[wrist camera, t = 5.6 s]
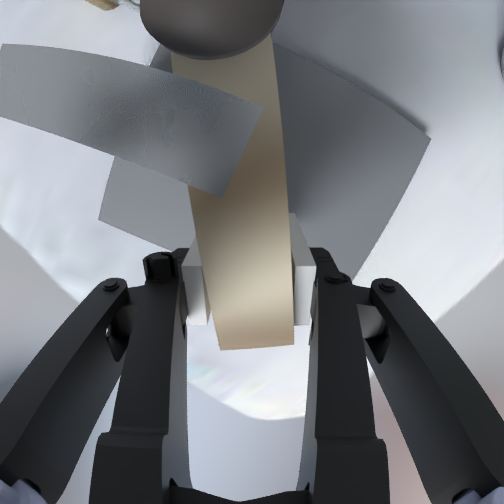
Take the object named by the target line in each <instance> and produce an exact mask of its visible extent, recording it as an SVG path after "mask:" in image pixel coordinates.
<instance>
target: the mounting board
mask: <svg viewBox="0 0 504 504" xmlns="http://www.w3.org/2000/svg"><path fill="white" fill-rule="evenodd" d="M272 44H273V43H272ZM273 52H274V60H275V69H276V77H277V86H278V95H279V104H280V114H281V124H282V135H283V146H284V158H285V170H286V183H287V197H288V211H289V213H295V215H296V217H297V220H298V222H299V224H300V227H301V229H302V232H303V234H304V237H305V239H306V241H307V244H308V246H309V247H323V248H324V249H326V250H327V251H329V252H330V254H331V256H332V258H333V260H334V262H335V264H336V266H337V268H338V270H339V272H342V273H345V274H346V275H348V276H349V277H350V278H351V281H353V279H354V277H355V276H356V274H357V273H358V271H359V270H360V268H361V267H362V265H363V263H364V262H365V260H366V259H367V257H368V255H369V254H370V252H371V250H372V249H373V247H374V246H375V244H376V242H377V241H378V239H379V237H380V236H381V234H382V232H383V230H384V229H385V227H386V225H387V224H388V222H389V220H390V218H391V217H392V215H393V213H394V211H395V209H396V208H397V206H398V204H399V202H400V200H401V198H402V197H403V195H404V193H405V191H406V189H407V187H408V185H409V183H410V181H411V179H412V177H413V176H414V174H415V172H416V170H417V168H418V166H419V164H420V161H421V159H422V157H423V155H424V153H425V151H426V149H427V147H428V145H429V143H430V140H431V138H430V137H428V136H427V135H426V134H425V133H423V132H422V131H421V130H420V129H418V128H417V127H416V126H414V125H413V124H412V123H410V122H409V121H408V120H406V119H405V118H404V117H402V116H401V115H400V114H398V113H397V112H395V111H394V110H393V109H391V108H390V107H388V106H387V105H385V104H384V103H382V102H381V101H379V100H378V99H376V98H375V97H373V96H372V95H370V94H369V93H367V92H366V91H364V90H362V89H361V88H359V87H357V86H356V85H354V84H352V83H351V82H349V81H347V80H346V79H344V78H342V77H340V76H339V75H337V74H335V73H333V72H331V71H329V70H328V69H326V68H324V67H322V66H320V65H318V64H316V63H314V62H312V61H310V60H308V59H306V58H304V57H302V56H300V55H298V54H296V53H293V52H291V51H289V50H287V49H285V48H282V47H280V46H278V45H275V44H273ZM149 67H152V68H156V69H159V70H163V71H166V72H169V73H172V74H173V70H172V60H171V51H170V50H169V49H167V48H166V47H164V46H163V45H162V44H160V46H159V48H158V50H157V52H156V54H155V56H154V58H153V60H152V62H151V64H150V66H149ZM98 220H100V221H102V222H104V223H107V224H109V225H111V226H114V227H116V228H118V229H120V230H123V231H125V232H127V233H130V234H132V235H134V236H137V237H139V238H141V239H144V240H146V241H149V242H151V243H153V244H156V245H158V246H160V247H163V248H165V249H168V250H170V251H174V250H176V249H177V248H190V247H191V245H192V243H193V241H194V239H195V237H196V232H195V226H194V221H193V215H192V209H191V203H190V197H189V191H188V185H187V184H186V183H183V182H181V181H178V180H176V179H173V178H171V177H168V176H166V175H163V174H161V173H158V172H156V171H153V170H150V169H148V168H145V167H143V166H140V165H138V164H135V163H132V162H130V161H127V160H124V159H122V158H119V157H116V156H115V158H114V161H113V164H112V168H111V171H110V175H109V178H108V182H107V186H106V189H105V193H104V197H103V201H102V205H101V210H100V214H99V218H98Z"/></svg>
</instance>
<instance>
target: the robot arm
mask: <svg viewBox="0 0 504 504" xmlns="http://www.w3.org/2000/svg"><path fill="white" fill-rule="evenodd" d="M289 227H290V245H291V265H292V288H293V316H294V325H309V323H310V315H311V318H312V325H311V332H310V338H309V345H310V355H309V373H308V388H307V402H306V414H305V426H304V436H303V445H302V455H301V463H300V471H299V478H298V483H297V487H296V491H287V492H282V493H278V494H274V495H270V496H266V497H262V498H257V499H253V500H247V501H241V502H238V501H232V500H228V499H224V498H221V497H217V496H214V495H211V494H207V493H205V492H201V491H198V490H196V489H193V488H192V484H191V479H190V472H189V454H188V433H187V432H188V431H187V326H186V318H187V315H188V318H189V324H195V325H207V324H208V320H209V315H210V311H211V307H210V302H209V298H208V293H207V288H206V283H205V278H204V273H203V268H202V263H201V258H200V253H199V248H198V243H197V237H195V239H194V241H193V243H192V245H191V247H190V248H177V249H176V250H174V251H173V252H156V253H153V254H150V255H148V256H146V257H145V258H144V259H143V265H144V271H145V276H146V281H145V285H143V286H138V287H131V288H128V287H127V283H126V281H125V280H124V279H121V278H109V279H106V280H105V281H103V282H101V283H100V284H98V285H97V286H96V287H95V288H94V289H93V290H92V292H91V293H90V294H89V295H88V296H87V297H86V298H85V299H84V300H83V301H82V302H81V304H80V305H79V306H78V307H77V308H76V309H75V310H74V312H72V314H71V315H70V316H69V317H68V318H67V319H66V320H65V322H64V323H63V324H62V325H61V326H60V327H59V329H58V330H57V331H56V332H55V333H54V335H53V336H52V337H51V338H50V339H49V340H48V342H47V343H46V344H45V345H44V347H43V348H42V349H41V350H40V351H39V353H38V354H37V355H36V356H35V358H34V359H33V360H32V362H31V363H30V364H29V365H28V367H27V368H26V369H25V371H24V372H23V373H22V374H21V376H20V377H19V379H18V380H17V381H16V383H15V384H14V386H13V387H12V388H11V390H10V391H9V392H8V394H7V395H6V397H5V398H4V399H3V401H2V402H1V404H0V504H56V503H57V501H58V500H59V498H60V496H61V495H62V494H63V491H64V490H65V488H66V486H67V484H68V482H69V480H70V478H71V475H72V473H73V471H74V469H75V466H76V464H77V462H78V460H79V457H80V455H81V453H82V451H83V449H84V447H85V444H86V443H87V440H88V438H89V436H90V434H91V432H92V430H93V428H94V426H95V424H96V422H97V420H98V418H99V416H100V414H101V412H102V410H103V408H104V406H105V404H106V402H107V400H108V398H109V396H110V394H111V392H112V390H113V388H114V387H115V385H116V382H117V381H118V379H119V377H120V375H121V377H120V382H119V387H118V392H117V397H116V402H115V407H114V413H113V419H112V425H111V429H110V431H109V432H106V433H101V435H100V436H99V437H98V441H97V444H96V450H95V456H94V463H93V470H92V477H91V485H90V495H89V504H390V490H389V471H388V457H387V449H386V444H385V442H384V441H383V439H378V438H377V436H376V433H375V423H374V413H373V405H372V396H371V388H370V380H369V373H368V366H367V360H366V356H367V358H368V360H369V362H370V364H371V367H372V369H373V371H374V373H375V375H376V377H377V379H378V381H379V383H380V385H381V387H382V390H383V392H384V394H385V396H386V398H387V400H388V402H389V405H390V407H391V409H392V411H393V413H394V416H395V418H396V420H397V423H398V425H399V427H400V429H401V432H402V434H403V436H404V439H405V441H406V444H407V446H408V448H409V451H410V453H411V455H412V458H413V460H414V463H415V465H416V468H417V470H418V473H419V475H420V478H421V481H422V483H423V486H424V488H425V490H426V492H427V495H428V497H429V499H430V501H431V503H432V504H504V421H503V419H502V418H501V416H500V414H499V413H498V411H497V410H496V408H495V407H494V405H493V403H492V402H491V400H490V399H489V397H488V396H487V394H486V393H485V391H484V390H483V388H482V387H481V386H480V384H479V383H478V381H477V380H476V379H475V377H474V376H473V374H472V373H471V371H470V370H469V369H468V367H467V366H466V364H465V363H464V362H463V360H462V359H461V358H460V356H459V355H458V354H457V352H456V351H455V350H454V348H453V347H452V346H451V344H450V343H449V342H448V341H447V339H446V338H445V337H444V336H443V334H442V333H441V332H440V331H439V329H438V328H437V327H436V326H435V324H434V323H433V322H432V320H431V319H430V318H429V317H428V316H427V314H426V313H425V312H424V311H423V310H422V308H421V307H420V306H419V305H418V304H417V303H416V301H415V300H414V299H413V298H412V297H411V296H410V294H409V293H408V292H407V291H406V290H405V289H404V287H403V286H402V285H401V284H399V283H398V282H396V281H394V280H392V279H389V278H379V279H375V280H374V281H372V284H371V288H366V287H360V286H356V285H353V284H352V281H351V278H350V277H349V276H348V275H346V274H345V273H342V272H339V270H338V268H337V266H336V264H335V262H334V260H333V258H332V256H331V254H330V252H329V251H327V250H326V249H324V248H323V247H309V246H308V244H307V241H306V239H305V237H304V234H303V232H302V229H301V227H300V224H299V222H298V220H297V217H296V215H295V213H289ZM107 328H108V332H107V334H106V329H107Z"/></svg>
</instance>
